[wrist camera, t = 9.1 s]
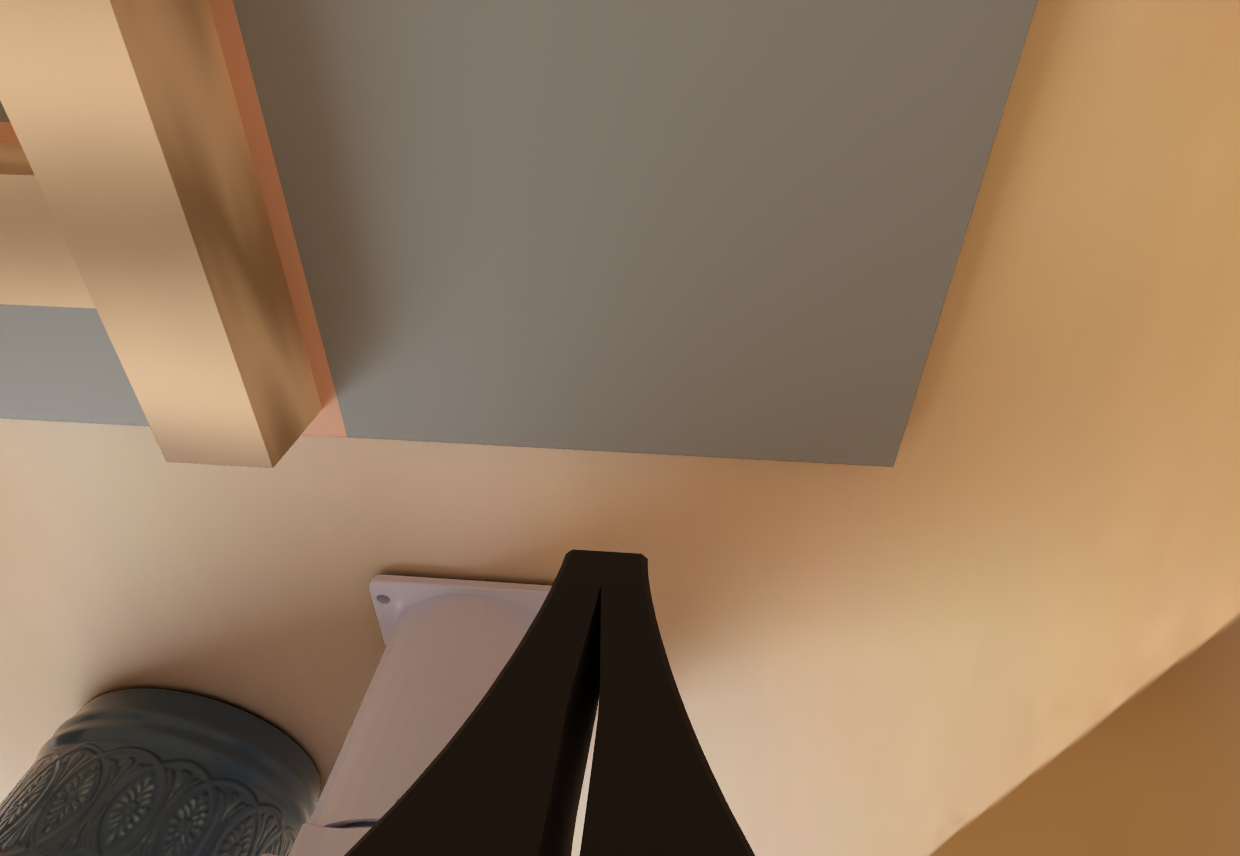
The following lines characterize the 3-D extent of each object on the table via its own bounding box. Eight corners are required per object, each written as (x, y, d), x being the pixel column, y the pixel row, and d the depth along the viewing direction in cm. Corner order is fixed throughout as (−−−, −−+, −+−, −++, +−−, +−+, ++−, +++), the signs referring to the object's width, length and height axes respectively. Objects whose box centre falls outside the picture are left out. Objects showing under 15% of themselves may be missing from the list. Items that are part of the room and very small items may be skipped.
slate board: (884, 447, 21) (893, 466, 20) (-70, 397, 22) (-98, 413, 22) (1053, -129, 13) (1079, -136, 12) (-427, -141, 15) (-494, -149, 14)
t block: (322, 409, 20) (272, 467, 18) (-15, 391, 21) (-109, 445, 18) (185, -81, 14) (76, -96, 11) (-306, -88, 14) (-514, -103, 12)
